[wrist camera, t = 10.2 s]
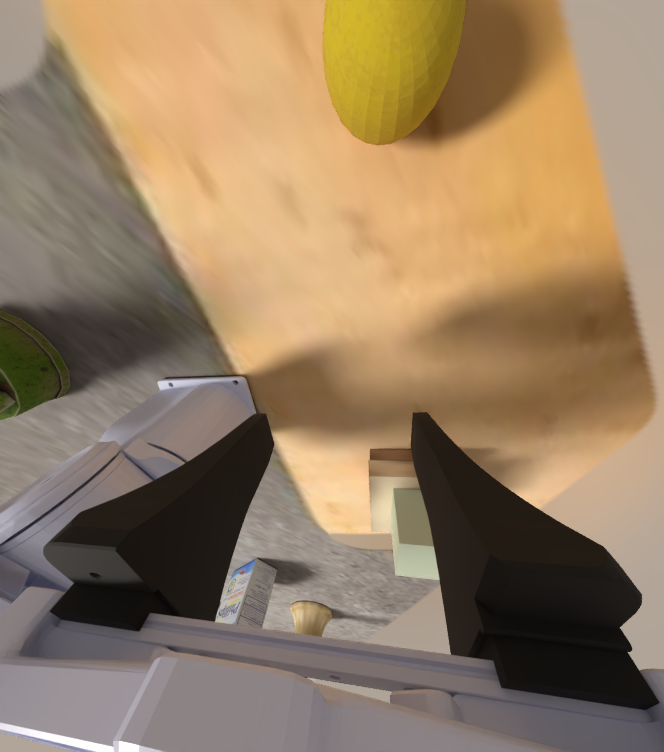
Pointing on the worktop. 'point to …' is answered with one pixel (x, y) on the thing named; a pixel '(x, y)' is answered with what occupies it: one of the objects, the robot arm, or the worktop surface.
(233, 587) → the medicine box
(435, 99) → the lemon
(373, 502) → the slab top
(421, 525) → the cube
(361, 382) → the worktop surface
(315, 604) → the hand bell
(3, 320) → the lantern
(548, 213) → the worktop surface
